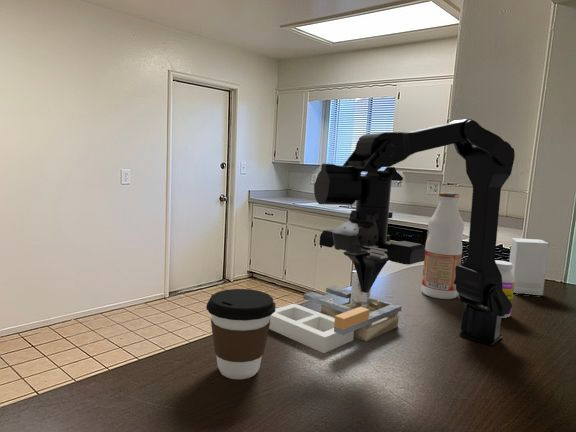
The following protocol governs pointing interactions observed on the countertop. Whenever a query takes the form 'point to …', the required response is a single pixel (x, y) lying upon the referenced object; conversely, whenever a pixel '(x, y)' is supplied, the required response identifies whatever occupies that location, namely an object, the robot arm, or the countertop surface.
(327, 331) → the white hollow block
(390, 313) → the key plate
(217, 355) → the coffee cup
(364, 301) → the flanged silver cylinder
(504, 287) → the supplement bottle
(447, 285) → the fruit juice
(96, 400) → the countertop surface
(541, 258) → the skincare box
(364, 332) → the socket block
